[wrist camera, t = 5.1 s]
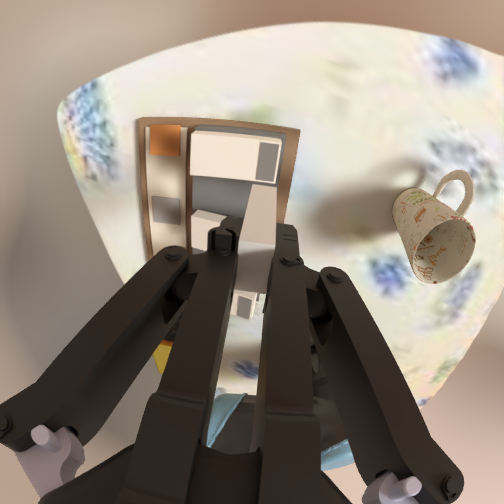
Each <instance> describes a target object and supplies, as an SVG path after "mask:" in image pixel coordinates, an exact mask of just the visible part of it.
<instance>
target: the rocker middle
mask: <svg viewBox="0 0 504 504" xmlns="http://www.w3.org/2000/svg"><path fill="white" fill-rule="evenodd" d="M226 217H234V218H238V217H236V216H223V215H219V214H215V213H210V212H206V211H202V210H197V211H196V212H195V213H194V214H193V215H192V216H191V241H192V247H193V248H197V249H200V250H204V251H206V250H207V236H208V231H209V230H210V229H212V228H214V227H219V226H220V223H221V221H222V220H223V219H224V218H226Z"/></svg>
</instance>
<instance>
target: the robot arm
mask: <svg viewBox="0 0 504 504" xmlns="http://www.w3.org/2000/svg"><path fill="white" fill-rule="evenodd" d="M276 204H277V187H270V186H263V185H256V184H253V185H252V189H251V193H250V197H249V201H248V205H247V209H246V213H245V217H244V219H242V218H234V217H226V218H224V219H223V220H222V221H221V223H220V226H219V227H214V228H212V229H210V230H209V231H208V236H207V250H206V252H204V253H200V254H191V255H189V254H188V251H187V250H186V248H184V247H182V246H176V245H172V246H167V247H164V248H163V249H161V250H160V251H159V252H158V253H157V254H156V255H155V256H153V257H152V258H151V259H150V260H149V261H148V262H147V263H146V264H145V265H144V266H143V267H142V268H141V269H140V270H139V271H138V272H137V273H136V274H135V275H134V276H133V277H132V278H131V279H130V280H129V281H128V282H127V283H126V284H125V285H124V286H123V287H122V288H121V289H120V290H119V291H118V292H117V293H116V294H115V295H114V296H113V297H112V298H111V299H110V300H109V301H108V302H107V303H106V304H105V305H104V306H103V307H102V308H101V309H100V310H99V311H98V312H97V313H96V314H95V315H94V317H93V318H92V319H91V320H90V321H89V322H88V323H87V324H86V325H85V326H84V327H83V328H82V330H80V332H79V333H78V334H77V335H76V336H75V337H74V338H73V339H72V341H71V342H70V343H69V344H68V345H67V346H66V347H65V348H64V349H63V351H62V352H61V353H60V354H59V355H58V356H57V358H56V359H55V360H54V361H53V362H52V363H51V365H50V366H49V367H48V368H47V369H46V370H45V372H44V373H43V374H42V375H41V376H40V378H39V379H38V380H37V381H36V383H34V384H32V385H31V386H29V387H27V388H26V389H24V390H23V391H21V392H20V393H18V394H17V395H15V396H13V397H11V398H10V399H8V400H7V401H5V402H4V403H2V404H0V443H2V444H3V445H5V446H6V447H8V448H10V449H12V450H13V451H14V452H15V454H16V456H17V458H18V460H19V462H20V464H21V466H22V467H23V469H24V471H25V473H26V474H27V476H28V478H29V480H30V482H31V483H32V485H33V487H34V488H35V490H36V492H37V493H38V495H39V496H40V498H41V499H40V501H39V502H38V504H352V503H351V502H350V501H349V500H348V499H347V497H346V496H345V495H344V494H343V493H342V492H341V491H340V490H339V489H338V487H337V486H336V485H335V484H334V483H333V482H332V481H331V479H330V478H329V477H328V476H327V475H326V474H325V473H324V472H323V471H324V470H330V469H334V468H339V467H342V466H346V465H349V464H352V463H354V462H355V463H356V466H357V468H358V471H359V473H360V475H361V477H362V479H363V481H364V482H365V484H366V485H367V486H368V487H367V489H366V490H365V493H364V495H363V497H362V503H363V504H451V503H453V502H454V501H455V500H457V499H458V497H459V496H460V494H461V492H462V491H463V487H464V477H463V475H462V473H461V471H460V470H459V469H458V467H457V466H456V465H455V464H454V463H453V462H452V461H451V459H450V458H449V457H448V456H447V455H446V454H445V452H444V451H443V450H442V449H441V448H440V447H439V446H438V444H437V443H436V442H435V441H434V440H433V439H432V438H431V436H430V433H429V431H428V429H427V426H426V424H425V422H424V419H423V417H422V415H421V413H420V410H419V408H418V406H417V404H416V402H415V399H414V397H413V395H412V393H411V391H410V389H409V387H408V385H407V383H406V380H405V378H404V376H403V374H402V372H401V370H400V368H399V366H398V364H397V362H396V360H395V358H394V357H393V355H392V353H391V351H390V349H389V347H388V345H387V343H386V341H385V339H384V338H383V336H382V334H381V332H380V330H379V328H378V327H377V325H376V323H375V321H374V319H373V317H372V316H371V314H370V312H369V310H368V309H367V307H366V305H365V303H364V302H363V300H362V298H361V296H360V295H359V293H358V291H357V290H356V288H355V286H354V285H353V283H352V281H351V280H350V278H349V276H348V275H347V274H346V273H345V272H344V271H342V270H341V269H339V268H336V267H325V268H323V269H322V270H321V272H317V271H314V270H312V269H309V268H308V267H306V266H305V265H304V262H303V259H302V258H301V257H300V255H299V244H298V234H297V230H296V229H295V227H294V226H293V225H288V224H281V223H276ZM234 290H241V291H248V292H255V293H262V294H266V298H265V303H264V308H263V313H264V317H263V329H262V340H261V352H260V363H259V374H258V384H257V395H248V394H247V393H244V394H229V393H224V394H221V395H219V396H217V397H216V398H215V399H214V396H215V390H216V385H217V380H218V374H219V369H220V364H221V358H222V353H223V348H224V343H225V337H226V332H227V327H228V322H229V317H230V311H231V306H232V301H233V294H234ZM266 291H267V292H266ZM183 311H184V313H183V315H182V318H181V321H180V324H179V327H178V330H177V333H176V336H175V339H174V342H173V344H172V347H171V350H170V353H169V356H168V360H167V363H166V366H165V369H164V372H163V375H162V379H161V382H160V385H159V387H158V390H157V391H156V392H155V393H153V394H152V395H151V396H150V397H149V400H148V402H147V405H146V408H145V411H144V414H143V417H142V421H141V424H140V428H139V431H138V434H137V438H136V441H135V443H134V444H132V445H130V446H128V447H126V448H124V449H123V450H121V451H120V452H118V453H117V454H115V455H113V456H112V457H110V458H109V459H107V460H105V461H104V462H102V463H100V464H99V465H97V466H95V467H94V468H92V469H90V470H89V471H87V472H85V473H83V474H82V475H80V476H78V477H77V478H75V474H76V471H77V469H78V468H79V467H80V465H82V464H83V463H84V461H85V457H84V450H83V446H84V445H86V444H87V443H88V442H89V441H90V440H91V439H92V438H93V437H94V436H95V435H96V434H97V432H98V431H99V430H100V428H101V427H102V426H103V425H104V423H105V422H106V420H107V419H108V417H109V416H110V414H111V413H112V411H113V410H114V408H115V407H116V406H117V404H118V403H119V401H120V400H121V398H122V397H123V395H124V394H125V393H126V391H127V390H128V388H129V387H130V385H131V384H132V382H133V381H134V380H135V378H136V377H137V375H138V374H139V372H140V371H141V370H142V368H143V367H144V365H145V364H146V363H147V361H148V360H149V358H150V357H151V355H152V354H153V353H154V351H155V350H156V349H157V347H158V346H159V344H160V343H161V342H162V340H163V339H164V337H165V336H166V335H167V333H168V332H169V330H170V329H171V328H172V326H173V325H174V324H175V322H176V321H177V319H178V318H179V317H180V315H181V314H182V312H183Z"/></svg>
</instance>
